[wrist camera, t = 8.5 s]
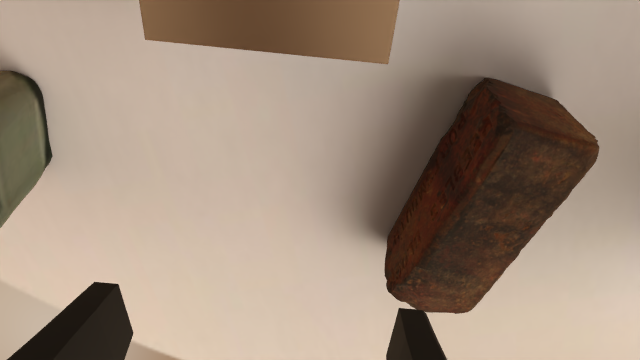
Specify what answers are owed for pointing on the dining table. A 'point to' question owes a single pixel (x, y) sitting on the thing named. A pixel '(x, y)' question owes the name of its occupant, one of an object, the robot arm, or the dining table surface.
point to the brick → (484, 196)
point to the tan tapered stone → (20, 140)
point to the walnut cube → (278, 26)
